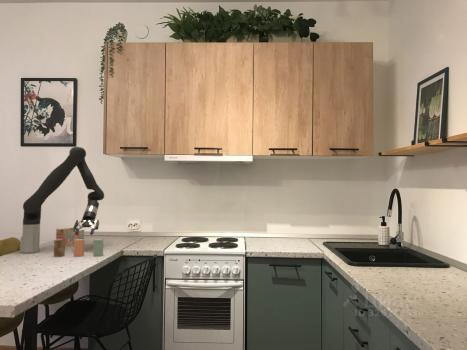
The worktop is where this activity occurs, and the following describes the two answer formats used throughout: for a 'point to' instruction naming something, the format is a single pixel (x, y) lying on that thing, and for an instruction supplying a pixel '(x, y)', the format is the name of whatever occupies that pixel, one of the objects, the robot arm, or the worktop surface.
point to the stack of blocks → (69, 235)
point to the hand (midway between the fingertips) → (83, 234)
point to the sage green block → (98, 247)
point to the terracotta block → (78, 247)
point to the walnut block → (59, 247)
